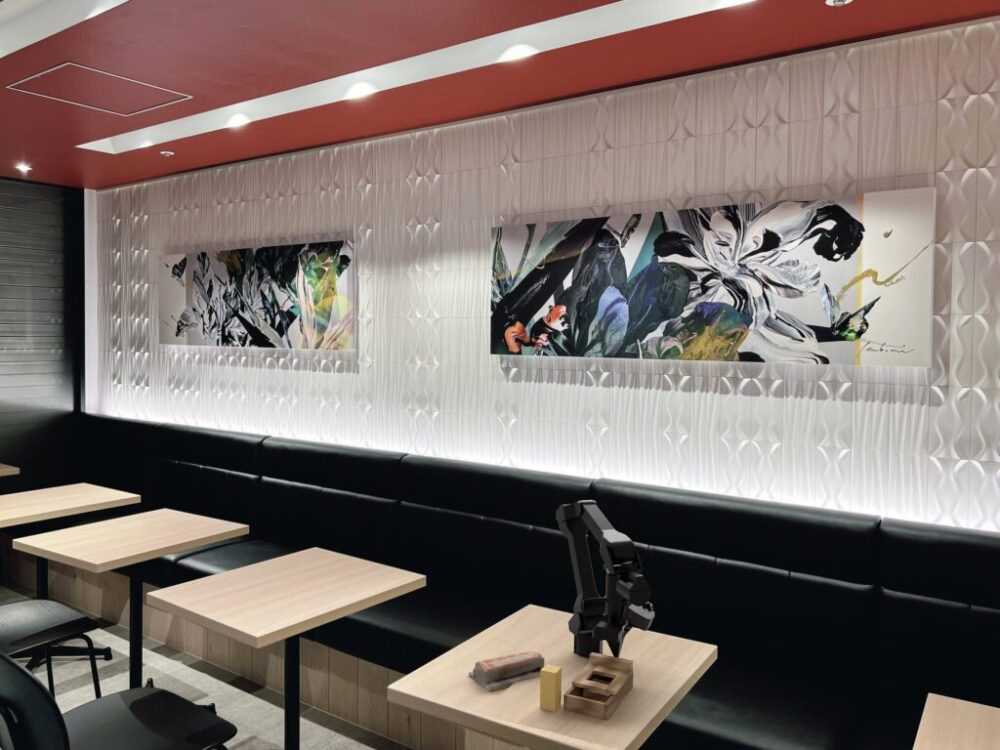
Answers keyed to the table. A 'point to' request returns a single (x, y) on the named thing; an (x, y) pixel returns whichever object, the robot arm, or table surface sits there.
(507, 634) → the table surface
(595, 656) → the lid
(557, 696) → the yellow rectangular block
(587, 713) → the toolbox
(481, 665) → the packaged product
